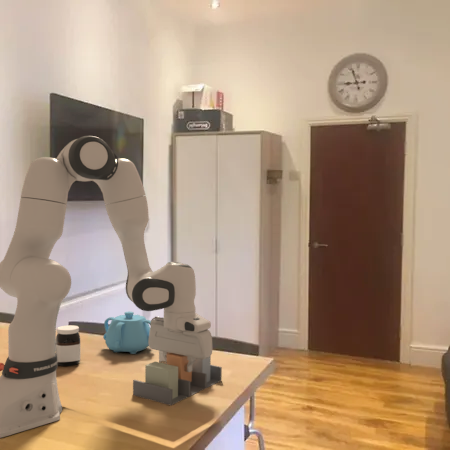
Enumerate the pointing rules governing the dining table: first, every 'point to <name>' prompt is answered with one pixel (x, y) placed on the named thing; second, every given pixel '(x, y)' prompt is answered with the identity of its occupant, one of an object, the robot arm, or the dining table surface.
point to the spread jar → (68, 345)
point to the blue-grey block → (202, 366)
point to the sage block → (162, 376)
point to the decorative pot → (127, 333)
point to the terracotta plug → (179, 365)
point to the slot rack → (184, 387)
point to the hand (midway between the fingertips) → (179, 369)
